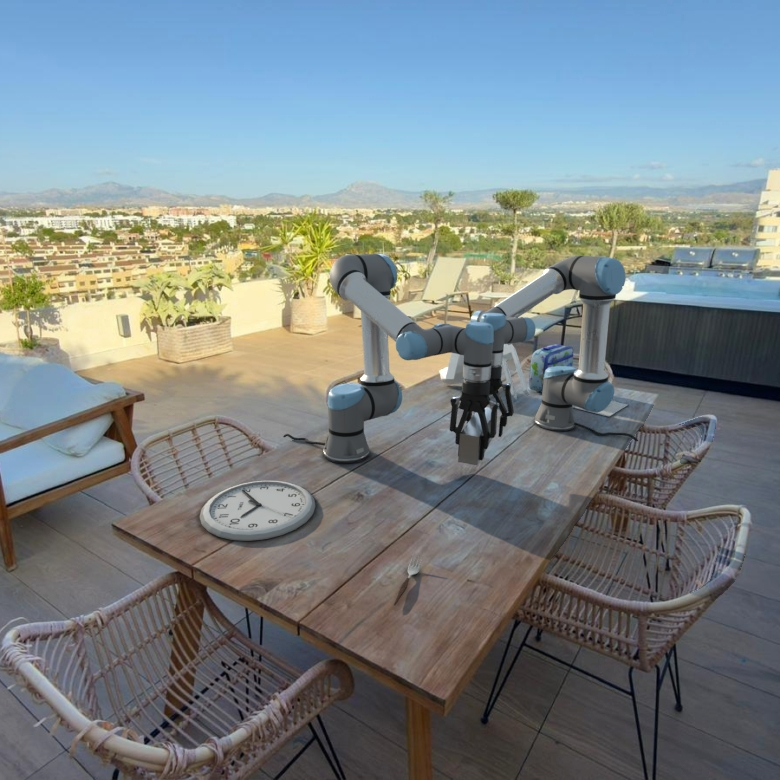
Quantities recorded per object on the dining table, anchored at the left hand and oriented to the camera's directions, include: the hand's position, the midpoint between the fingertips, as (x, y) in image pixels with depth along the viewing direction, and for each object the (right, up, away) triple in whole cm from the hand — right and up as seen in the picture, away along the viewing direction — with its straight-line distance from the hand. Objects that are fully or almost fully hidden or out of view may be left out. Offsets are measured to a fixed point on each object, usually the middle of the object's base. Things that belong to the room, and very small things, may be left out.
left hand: (470, 456), depth 151 cm
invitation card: (+68, +12, +76) cm, 103 cm away
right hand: (+7, +6, +15) cm, 18 cm away
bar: (+3, +2, +8) cm, 9 cm away
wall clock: (-59, -13, -10) cm, 61 cm away
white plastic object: (+18, +18, +93) cm, 96 cm away
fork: (-20, -22, -39) cm, 49 cm away
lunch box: (+53, +20, +99) cm, 114 cm away
